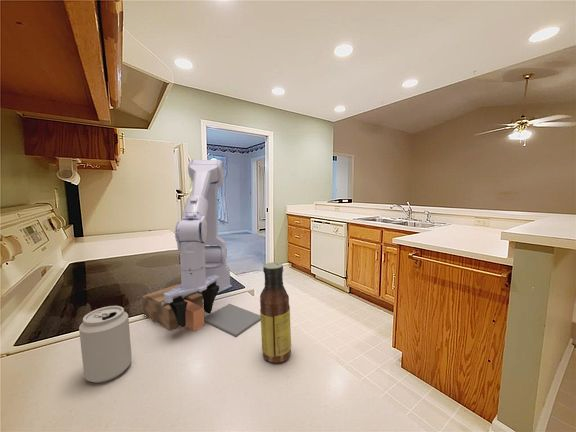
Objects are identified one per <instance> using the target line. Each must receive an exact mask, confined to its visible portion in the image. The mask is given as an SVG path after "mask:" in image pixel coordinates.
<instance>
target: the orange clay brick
mask: <svg viewBox="0 0 576 432" xmlns="http://www.w3.org/2000/svg"><path fill="white" fill-rule="evenodd" d="M182 299H183V298H182ZM183 300H184V301H186V302H188V303H187V307H186V325H185V327H187V328H188V329H190V330H192V331H197V330H199V329H200V328H202V327H203V326H205V322H204V317H205V312H204V306H203V307H201V306H199V305H197V304H195V303H192V302H190V301H188V300H186V299H183Z"/></svg>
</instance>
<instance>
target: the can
mask: <svg viewBox="0 0 576 432" xmlns="http://www.w3.org/2000/svg"><path fill="white" fill-rule="evenodd" d="M129 319H130V318H129V314H128V313H127V312H126V311H125V309H124V307H122V306H120V305H108V306H104V307H100V308H97V309H94V310H92V311H89V312H88V313H87V314H85V315H84V316H83V318H82V323H81V324H80V325H79V327H78V330H79V339H80V348H81V351H80V352H81V357H82V358H81V359H82V368H83V369H82V370H83V375H84V376H83V377H84V379H85V380H86V381H87V382H92V383H99V384H100V383H105V382H109V381H112V380H113V379H115V378H117V377H119V376H120V375H121V374H123V373H124V372H125V371H126V370H127V369H128V367H129V366H130V365H131V364H132V359H133V358H132V346H131V345H132V344H131V333H130V320H129Z"/></svg>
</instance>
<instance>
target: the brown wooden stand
mask: <svg viewBox="0 0 576 432" xmlns="http://www.w3.org/2000/svg"><path fill="white" fill-rule="evenodd" d="M179 285H181V283H178V284H174V285H170V286H169V287H165V288H163V289H159V290H157V291H153V292H150V293H148V294H145V295H142V307H143V316H144V315H146V316H147V317H146V316H145V317H146V318H148V319H150V320H151V321H153V322H154V323H156V324H158V325H160V326H161V327H163V328H165V329H166V330H169V331H172V330H174V329H176V328H178V327H180V326H179V325H178V323H177V319H176V317H175V314H174V312H173V310H172V309H171V307H170V306H169V304H168V303H167V302H165V301H164V293H166V292H168V291H170V290H172V289H174V288H176V287H177V286H179ZM182 298H183V299H186V300H188V301H190V302H192V303H195V304H197V305H199V306H201V307H204V306H203V296H202V293H198V291H196V292H193V293H190V294H188V295H185V296H183V297H182Z"/></svg>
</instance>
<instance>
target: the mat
mask: <svg viewBox="0 0 576 432" xmlns="http://www.w3.org/2000/svg"><path fill="white" fill-rule="evenodd" d="M259 322H261V317H260V314H258V313H255V312H252V311H250V310H247V309H245V308H242V307H239V306H237V305H234V304H232V303H228V304H226V305H224V306H222V307H220V308H219V309H217V310H214V311H212V312H211V313H210V314H207V315H204V323H207V324H208V325H210V326H213V327H215V328H216V329H219V330H221V331H222V332H225V333H226V334H229V335H231V336H233V337H235V338H237V337H238V336H240V335H241V334H243V333H244V332H246V331H248V330H249V329H250V328H251V327H253V326H254V325H256V324H258V323H259Z"/></svg>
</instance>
